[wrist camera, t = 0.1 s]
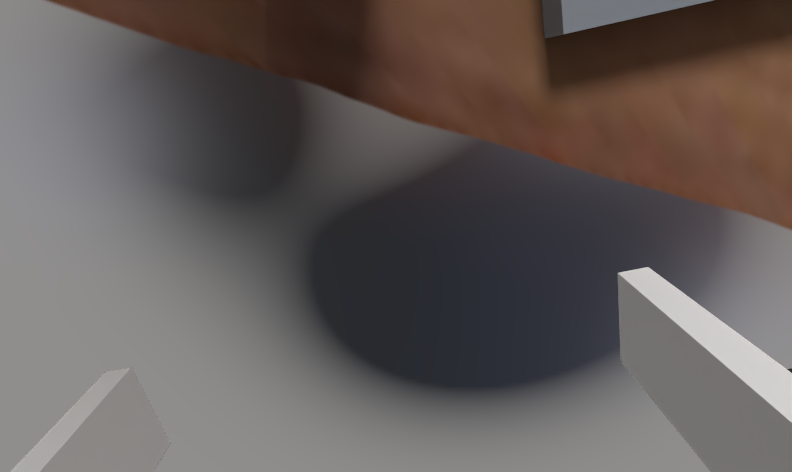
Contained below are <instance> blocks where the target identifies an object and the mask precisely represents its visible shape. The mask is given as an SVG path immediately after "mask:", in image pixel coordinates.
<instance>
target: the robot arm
mask: <svg viewBox="0 0 792 472" xmlns="http://www.w3.org/2000/svg"><path fill="white" fill-rule="evenodd" d="M618 293H619V322H620V348H621V349H620V350H621V362H622V363H623V365H624V366H625V367H626V368H627V369H628V371H629V372H630V373H631V374H632V376H633V377H634V378H635V379H636V381H637V382H638V383H639V384H640V385H641V387H642V388H643V389H644V390H645V392H646V393H647V394H648V395H649V397H650V398H651V399H652V400H653V401H654V403H655V404H656V405H657V406H658V407H659V409H660V410H661V411H662V412H663V414H664V415H665V416H666V417H667V418H668V420H669V421H670V422H671V424H673V426H674V427H675V428H676V430H677V431H678V432H679V433H680V434H681V436H682V437H683V438H684V440H686V442H687V443H688V444H689V446H690V447H691V448H692V449H693V450H694V452H695V453H696V454H697V455H698V457H699V458H700V459H701V460H702V462H703V463H704V464H705V465H706V467H707V468H708V469H709V470H710V471H711V472H792V369H785V368H784V367H783V366H782V365H780V364H779V363H777V362H776V361H775V360H773V359H772V358H770V357H769V356H768V355H767V354H765V353H764V352H763V351H761V350H760V349H758V348H757V347H756V346H754V345H753V344H752V343H750V342H749V341H748V340H746V339H745V338H743V337H742V336H741V335H739V334H738V333H737V332H735V331H734V330H733V329H731V328H730V327H729V326H727V325H726V324H724V323H723V322H722V321H721V320H719V319H718V318H716V317H715V316H714V315H712V314H711V313H710V312H708V311H707V310H706V309H704V308H703V307H702V306H700V305H699V304H697V303H696V302H695V301H693V300H692V299H691V298H689V297H688V296H686V295H685V294H684V293H683V292H681V291H680V290H678V289H677V288H676V287H674V286H673V285H672V284H670V283H669V282H668V281H666V280H665V279H664V278H662V277H661V276H659V275H658V274H657V273H655V272H654V271H653V270H651V269H650V268H649V267H646V268H641V269H636V270H630V271H625V272H620V273H618ZM169 445H170V441H169V439H168V437H167V435H166V433H165V431H164V429H163V428H162V426H161V423H160V421H159V420H158V418H157V416H156V414H155V412H154V410H153V408H152V406H151V404H150V402H149V400H148V398H147V397H146V394H145V392H144V390H143V388H142V386H141V384H140V382H139V380H138V378H137V376H136V375H135V373H134V371H133V369H132V367H130V368H124V369H119V370H114V371H108V372H105V373H104V374H103V375H102V376H101V377H100V378H99V379H98V380H97V381H96V382H95V383H94V385H92V387H91V388H90V389H89V390H88V391H87V392H86V393H85V394H84V395H83V396H82V397H81V398H80V399H79V400H78V401H77V402H76V403H75V404H74V405H73V406H72V407H71V409H70V410H69V411H68V412H67V413H66V414H65V415H64V416H63V417H62V418H61V419H60V420H59V421H58V422H57V423H56V424H55V425H54V427H52V429H51V430H50V431H49V432H48V433H47V434H46V435H45V436H44V437H43V438H42V439H41V440H40V441H39V443H37V444H36V445H35V446H34V447H33V448H32V450H31V451H30V452H29V453H28V454H27V455H26V456H25V457H24V458H23V459H22V460H21V461H20V462H19V463H18V464H17V465H16V466H15V467H14V468H13V469H12V471H11V472H154V471H155V469H156V467H157V466H158V464H159V462H160V461H161V459H162V457H163V455H164V454H165V452H166V450H167V449H168V447H169Z"/></svg>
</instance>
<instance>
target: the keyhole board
mask: <svg viewBox="0 0 792 472" xmlns="http://www.w3.org/2000/svg"><path fill="white" fill-rule="evenodd" d="M541 1H542V13H543V25H544V37H545V39H546V38H550V37H555V36H559V35H563V34H568V33H572V32H577V31H581V30H585V29H590V28H594V27H599V26H603V25H608V24H612V23H616V22H621V21H625V20H630V19H634V18H638V17H643V16H647V15H652V14H656V13H660V12H665V11H669V10H674V9H678V8H683V7H687V6H691V5H696V4H700V3H705V2H709V1H713V0H541Z"/></svg>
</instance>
